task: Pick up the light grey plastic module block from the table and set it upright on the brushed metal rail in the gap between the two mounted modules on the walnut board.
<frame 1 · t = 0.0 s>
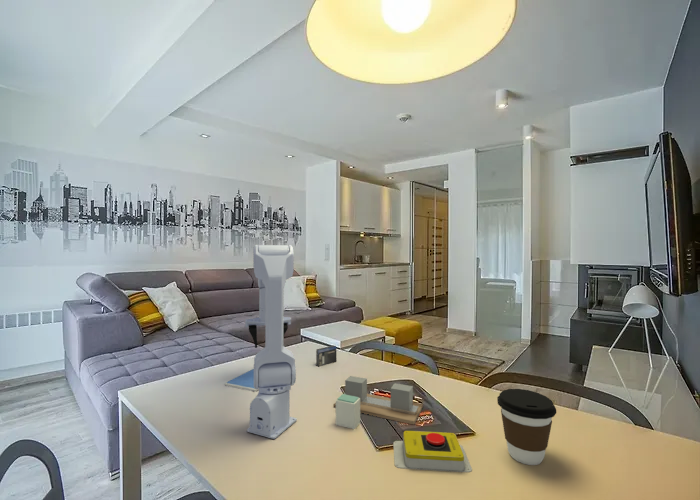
hand: (268, 345, 114), 11 cm above the table, tool pointing down, fingers open, 7 cm apart
tablet computer: (259, 379, 114), on the table
mounted modules: (378, 392, 93), on the rail, point 4 cm above the table
emergency button: (430, 459, 71), on the table
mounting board: (378, 407, 93), on the table
mini dv tape: (326, 364, 127), on the table
coffee cup: (525, 456, 71), on the table
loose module: (348, 423, 84), on the table
rail: (378, 403, 93), on the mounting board, point 1 cm above the table
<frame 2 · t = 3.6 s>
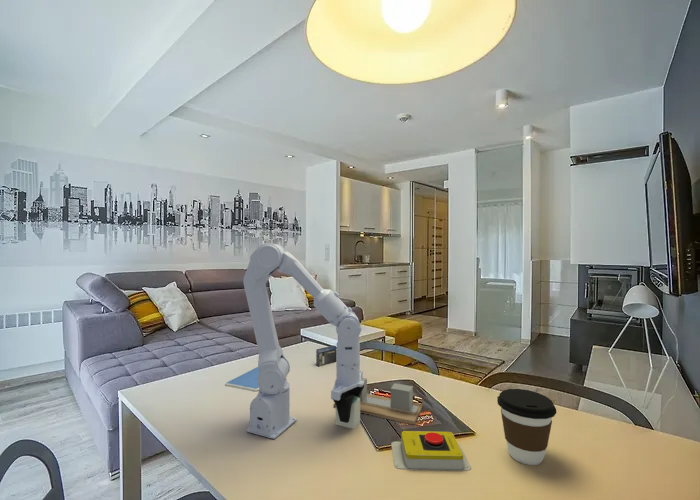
hand: (348, 417, 84), 1 cm above the table, tool pointing down, fingers closed on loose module, 4 cm apart
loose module: (347, 423, 84), on the table, touching gripper
everything else where it was.
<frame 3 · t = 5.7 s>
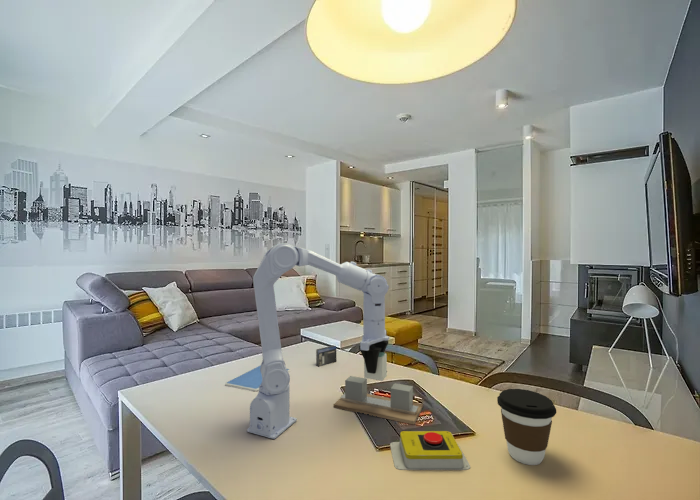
hand: (374, 370, 91), 11 cm above the table, tool pointing down, fingers closed on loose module, 4 cm apart
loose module: (375, 376, 91), point 9 cm above the table, touching gripper
everything else where it was.
when the fingers open (4 cm above the table, at t = 7.8 s): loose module stays where it is, resting on rail.
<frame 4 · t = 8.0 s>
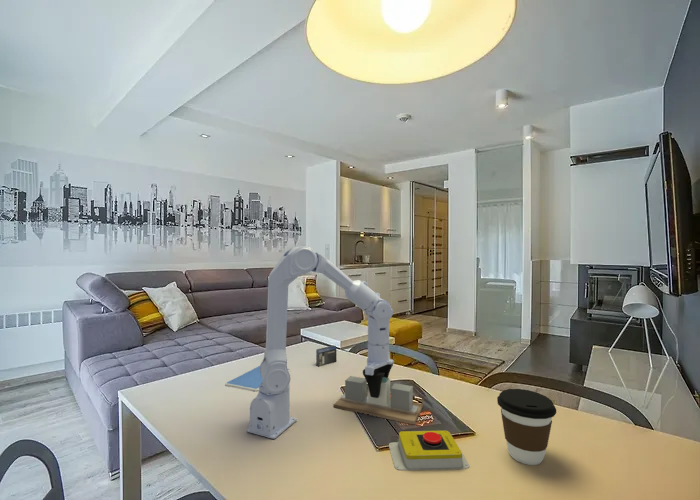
hand: (378, 392, 93), 4 cm above the table, tool pointing down, fingers open, 5 cm apart
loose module: (379, 402, 93), point 1 cm above the table, touching rail
everything else where it was.
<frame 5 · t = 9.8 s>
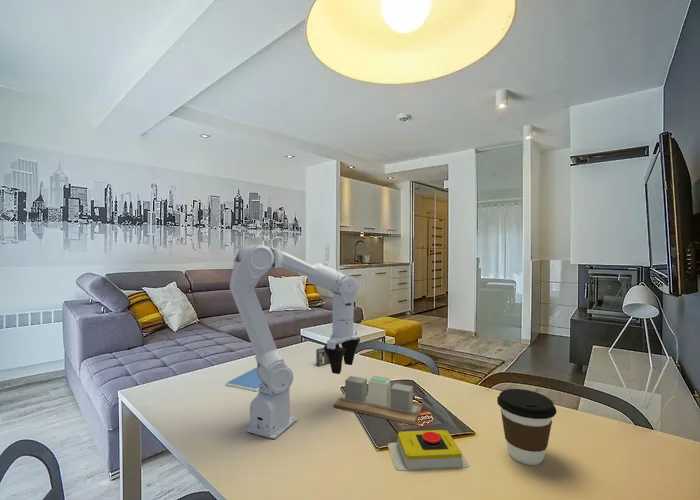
hand: (342, 368, 93), 10 cm above the table, tool pointing down, fingers open, 7 cm apart
nothing on the table moved.
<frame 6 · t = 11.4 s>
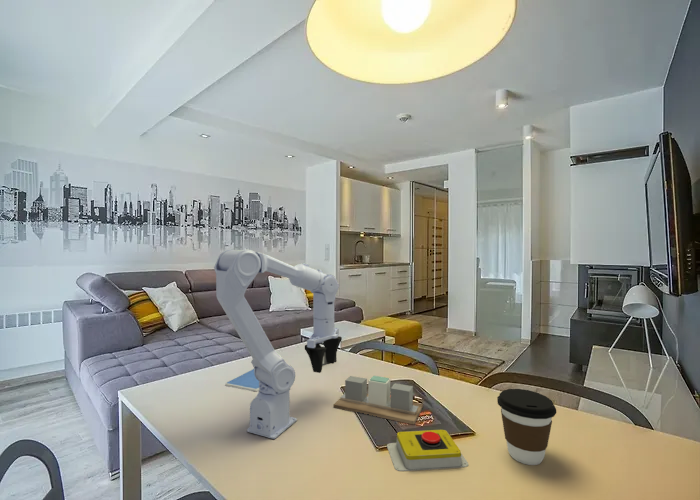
hand: (324, 367, 94), 10 cm above the table, tool pointing down, fingers open, 7 cm apart
at the end: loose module 0.3 cm off-centre on the rail, point 1.5 cm above the rail's base; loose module tilted 0°; the gripper is holding nothing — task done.
